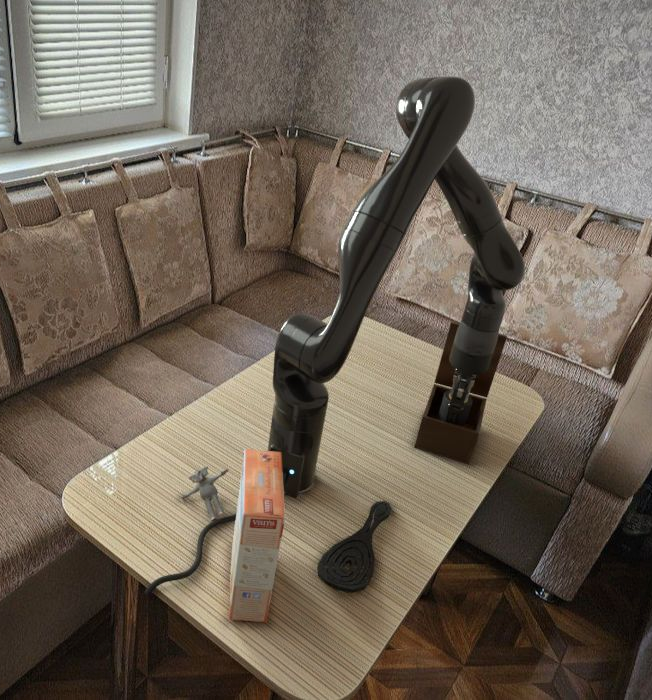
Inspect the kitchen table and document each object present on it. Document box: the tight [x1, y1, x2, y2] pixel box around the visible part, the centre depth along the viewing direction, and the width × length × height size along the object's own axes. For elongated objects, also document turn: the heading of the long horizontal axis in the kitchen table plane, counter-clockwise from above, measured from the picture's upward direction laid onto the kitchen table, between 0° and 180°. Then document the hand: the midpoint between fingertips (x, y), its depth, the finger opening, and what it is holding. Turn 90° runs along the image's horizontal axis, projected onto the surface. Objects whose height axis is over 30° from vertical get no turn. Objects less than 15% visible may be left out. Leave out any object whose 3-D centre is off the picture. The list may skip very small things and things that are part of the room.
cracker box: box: [228, 448, 286, 623], centre depth 98 cm, size 14×6×21 cm, turn 179°
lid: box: [434, 321, 508, 399], centre depth 141 cm, size 15×11×5 cm
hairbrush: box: [316, 500, 393, 594], centre depth 111 cm, size 8×4×25 cm
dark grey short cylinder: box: [439, 390, 472, 426], centre depth 136 cm, size 6×6×5 cm
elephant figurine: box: [180, 466, 229, 522], centre depth 116 cm, size 10×6×9 cm
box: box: [413, 383, 487, 466], centre depth 139 cm, size 14×11×8 cm
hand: (452, 415), depth 137 cm, fingers closed on dark grey short cylinder, 5 cm apart
